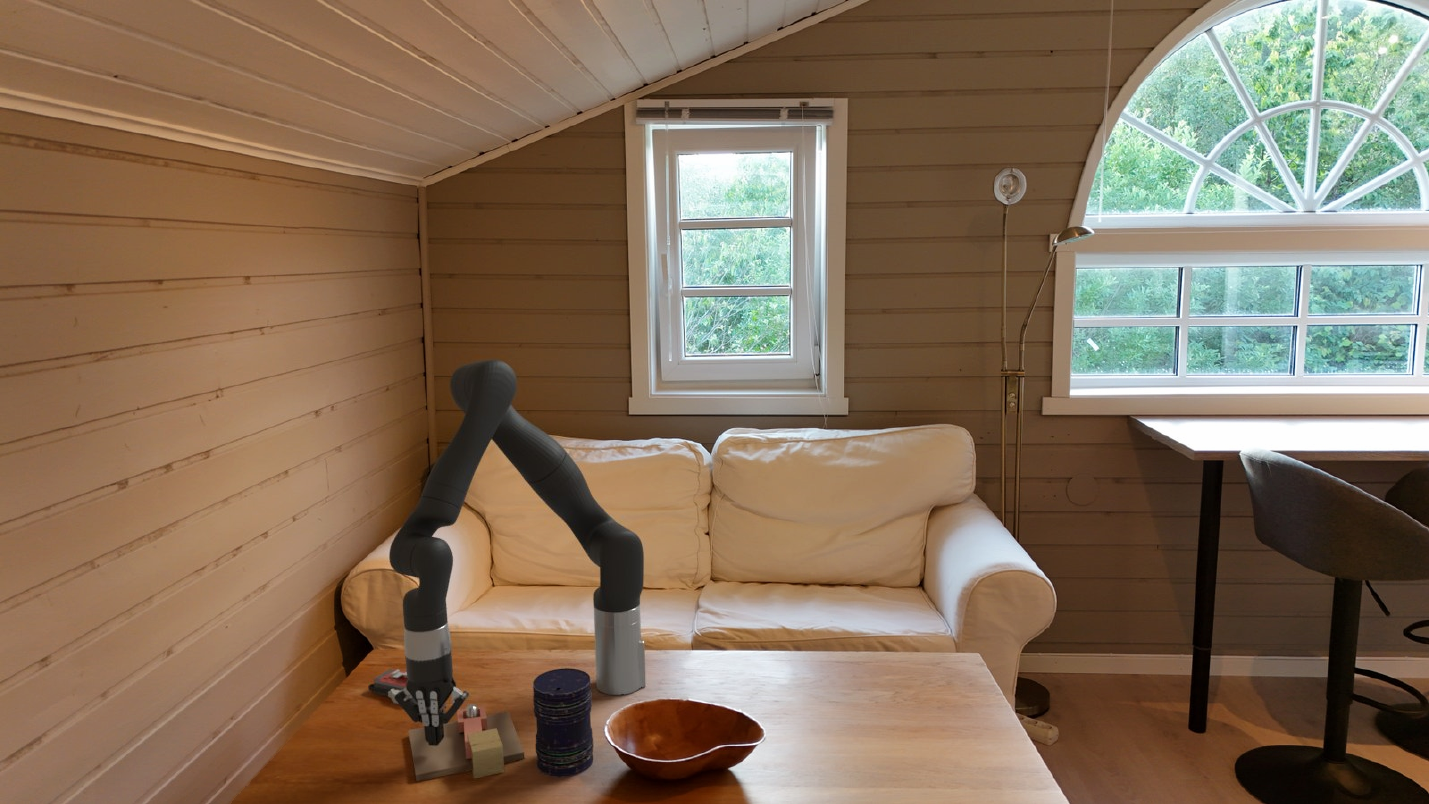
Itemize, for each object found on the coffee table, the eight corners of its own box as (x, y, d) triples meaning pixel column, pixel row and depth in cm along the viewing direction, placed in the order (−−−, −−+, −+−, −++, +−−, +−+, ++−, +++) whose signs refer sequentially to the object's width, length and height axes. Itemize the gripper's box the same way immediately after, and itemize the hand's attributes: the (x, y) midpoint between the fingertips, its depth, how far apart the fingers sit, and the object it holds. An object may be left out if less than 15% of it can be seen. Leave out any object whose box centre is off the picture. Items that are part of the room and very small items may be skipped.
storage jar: (543, 746, 169) (539, 667, 167) (598, 746, 169) (595, 667, 166) (530, 777, 159) (526, 694, 157) (589, 778, 159) (585, 694, 156)
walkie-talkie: (360, 698, 189) (442, 716, 181) (358, 677, 188) (441, 694, 180) (390, 679, 197) (470, 696, 189) (389, 659, 196) (469, 675, 188)
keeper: (497, 753, 167) (496, 728, 166) (504, 772, 161) (502, 746, 160) (468, 759, 165) (467, 734, 164) (474, 778, 159) (472, 752, 158)
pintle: (477, 728, 176) (475, 703, 175) (478, 733, 174) (477, 707, 173) (467, 730, 175) (465, 705, 174) (468, 735, 173) (466, 709, 173)
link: (457, 719, 176) (457, 709, 176) (485, 715, 177) (485, 705, 177) (460, 760, 162) (459, 749, 162) (490, 755, 164) (489, 744, 163)
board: (508, 716, 180) (508, 710, 180) (524, 758, 165) (524, 752, 165) (408, 736, 173) (408, 730, 173) (416, 781, 159) (416, 775, 158)
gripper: (380, 657, 159) (389, 753, 162) (456, 660, 157) (463, 757, 160) (401, 638, 166) (408, 730, 169) (473, 641, 164) (480, 734, 167)
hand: (435, 743), depth 164 cm, fingers closed
